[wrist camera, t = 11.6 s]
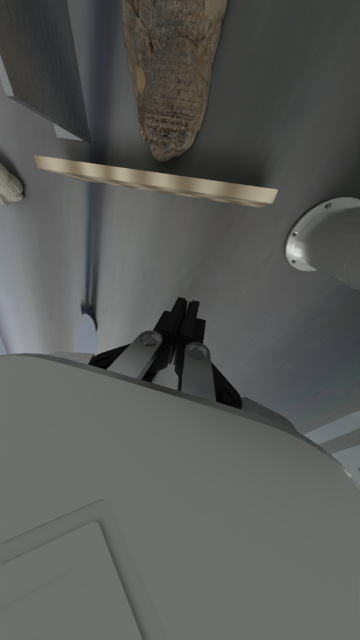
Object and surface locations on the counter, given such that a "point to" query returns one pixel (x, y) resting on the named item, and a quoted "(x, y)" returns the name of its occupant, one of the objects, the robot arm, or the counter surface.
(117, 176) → the shelf wall
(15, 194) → the fossil replica
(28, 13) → the bookend
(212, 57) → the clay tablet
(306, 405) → the counter surface
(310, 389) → the counter surface
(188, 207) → the counter surface
